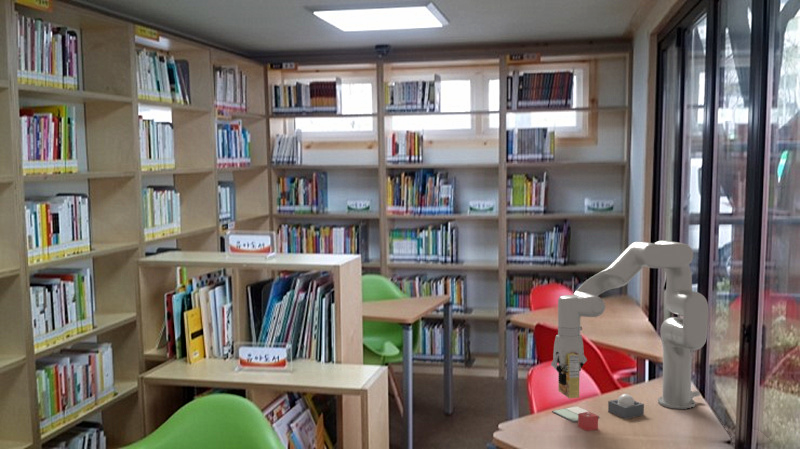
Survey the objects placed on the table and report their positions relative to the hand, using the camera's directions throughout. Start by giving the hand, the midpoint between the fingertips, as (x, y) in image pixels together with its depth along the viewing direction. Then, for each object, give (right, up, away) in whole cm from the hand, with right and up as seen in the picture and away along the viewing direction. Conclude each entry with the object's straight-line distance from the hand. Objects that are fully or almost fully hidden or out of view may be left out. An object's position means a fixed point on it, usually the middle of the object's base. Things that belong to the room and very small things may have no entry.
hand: (569, 382), depth 245 cm
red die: (+4, -13, -11) cm, 17 cm away
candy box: (0, -5, +1) cm, 5 cm away
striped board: (+3, -12, +2) cm, 12 cm away
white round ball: (+21, -10, +3) cm, 23 cm away
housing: (+21, -11, +3) cm, 24 cm away
